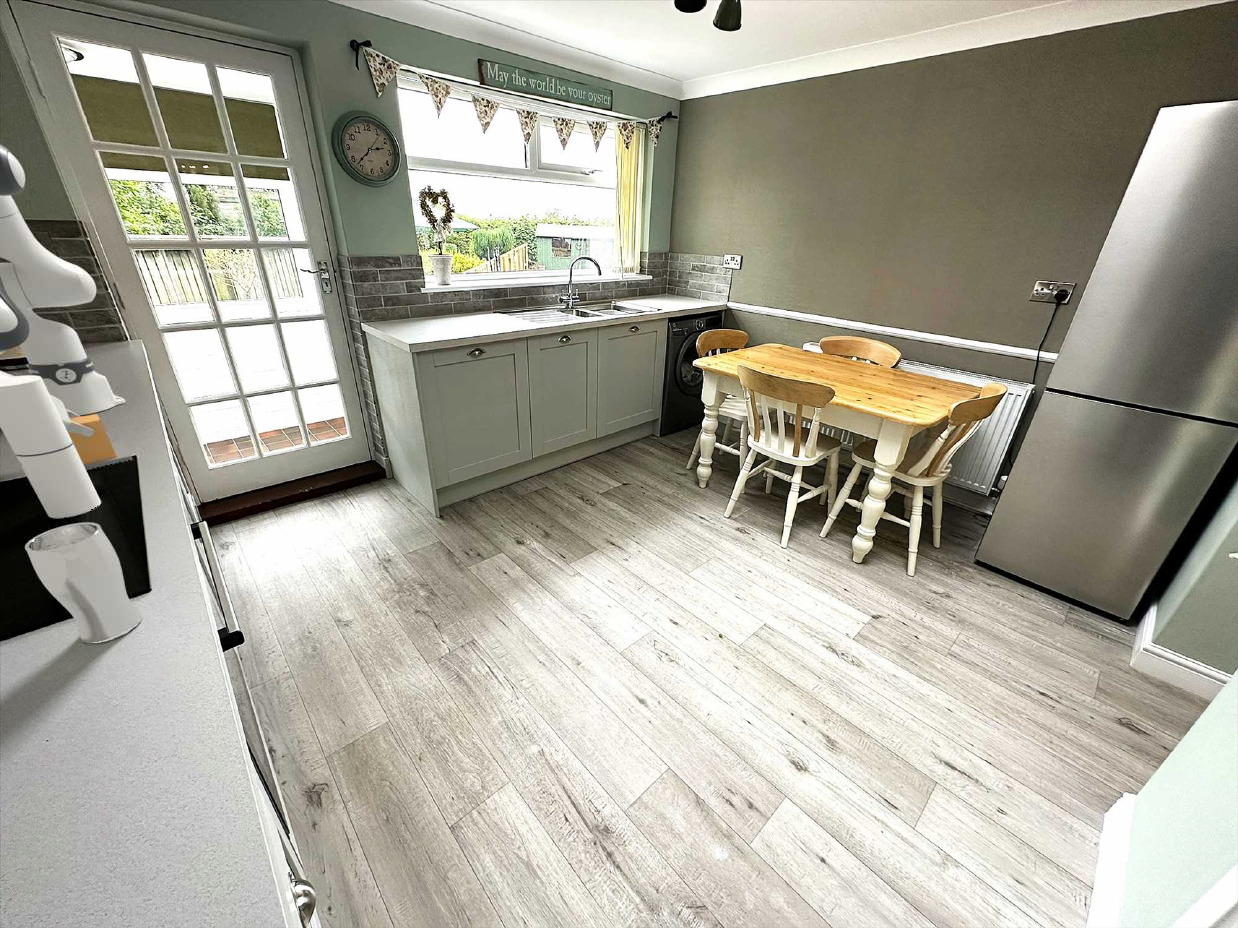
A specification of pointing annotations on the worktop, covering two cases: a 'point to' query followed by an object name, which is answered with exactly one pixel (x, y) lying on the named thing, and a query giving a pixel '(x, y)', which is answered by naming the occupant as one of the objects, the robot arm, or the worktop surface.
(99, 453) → the orange rectangular block
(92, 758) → the worktop surface
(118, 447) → the plate
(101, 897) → the worktop surface
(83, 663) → the worktop surface
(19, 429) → the cylindrical container
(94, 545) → the beer glass
